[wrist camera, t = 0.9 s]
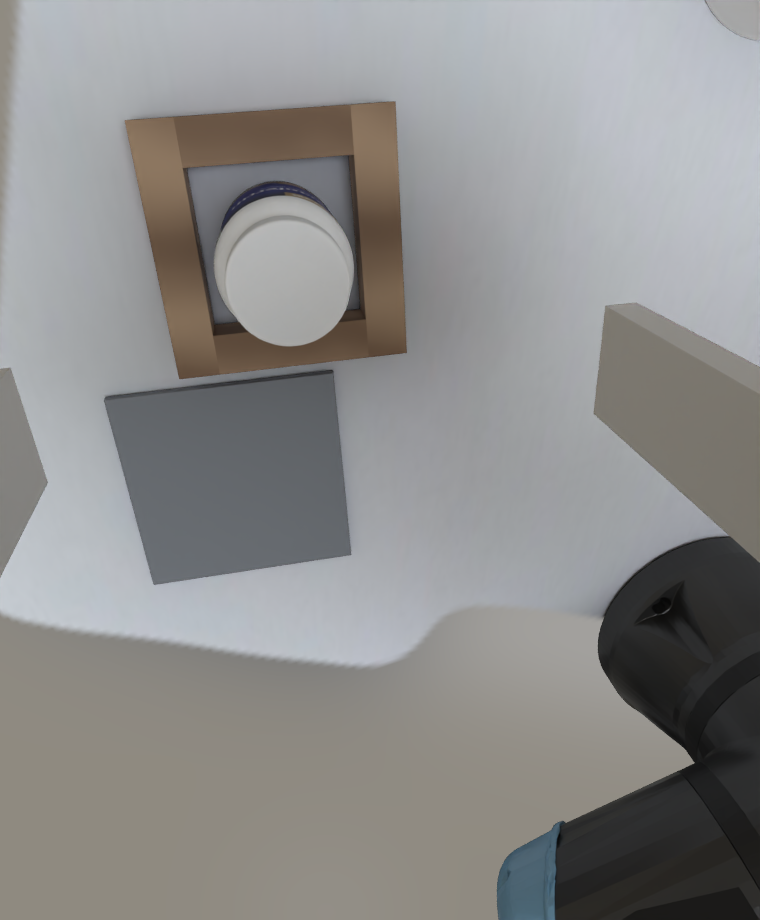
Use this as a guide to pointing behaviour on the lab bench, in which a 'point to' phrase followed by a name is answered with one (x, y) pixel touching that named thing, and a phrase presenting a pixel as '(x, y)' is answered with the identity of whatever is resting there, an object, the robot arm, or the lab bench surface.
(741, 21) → the cylinder container
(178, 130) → the wooden square frame
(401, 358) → the lab bench surface
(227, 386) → the rubber mat
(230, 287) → the pill bottle
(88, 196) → the lab bench surface
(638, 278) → the lab bench surface
